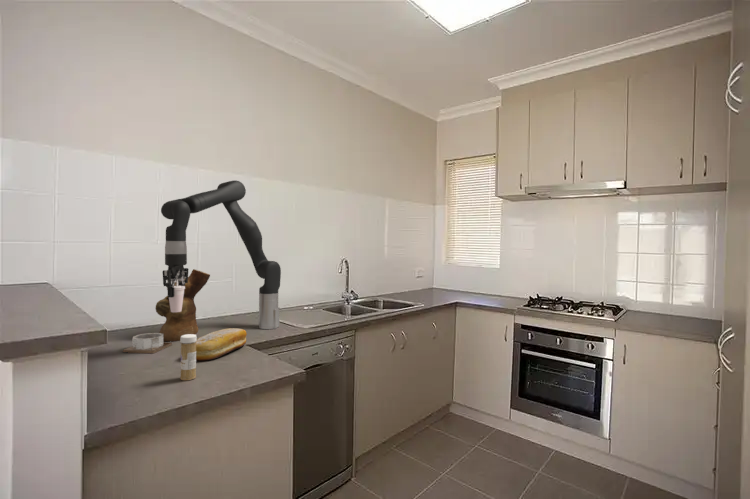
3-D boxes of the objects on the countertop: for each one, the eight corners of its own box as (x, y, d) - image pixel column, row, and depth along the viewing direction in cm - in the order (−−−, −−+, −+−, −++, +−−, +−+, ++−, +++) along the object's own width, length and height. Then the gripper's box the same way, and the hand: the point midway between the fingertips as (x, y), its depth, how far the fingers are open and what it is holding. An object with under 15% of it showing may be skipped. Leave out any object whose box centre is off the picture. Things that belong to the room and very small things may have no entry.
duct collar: (171, 345, 158) (171, 332, 158) (153, 353, 146) (153, 340, 146) (143, 344, 159) (143, 332, 159) (122, 352, 147) (122, 339, 147)
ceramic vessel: (156, 335, 174) (156, 268, 174) (208, 330, 184) (209, 267, 184) (154, 343, 160) (154, 271, 160) (211, 338, 170) (211, 270, 170)
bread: (252, 344, 161) (252, 325, 161) (214, 364, 135) (214, 341, 135) (223, 342, 164) (223, 324, 164) (180, 361, 138) (180, 339, 138)
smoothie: (189, 310, 152) (188, 275, 152) (175, 313, 146) (175, 276, 146) (176, 309, 154) (176, 274, 154) (162, 312, 148) (162, 275, 148)
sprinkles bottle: (177, 378, 120) (177, 335, 120) (192, 374, 124) (192, 332, 123) (184, 382, 117) (184, 337, 117) (199, 378, 121) (199, 335, 120)
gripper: (174, 253, 142) (175, 298, 143) (195, 252, 157) (195, 293, 157) (155, 253, 143) (155, 298, 143) (177, 252, 157) (177, 293, 158)
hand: (176, 295), depth 150 cm, fingers closed on smoothie, 6 cm apart
